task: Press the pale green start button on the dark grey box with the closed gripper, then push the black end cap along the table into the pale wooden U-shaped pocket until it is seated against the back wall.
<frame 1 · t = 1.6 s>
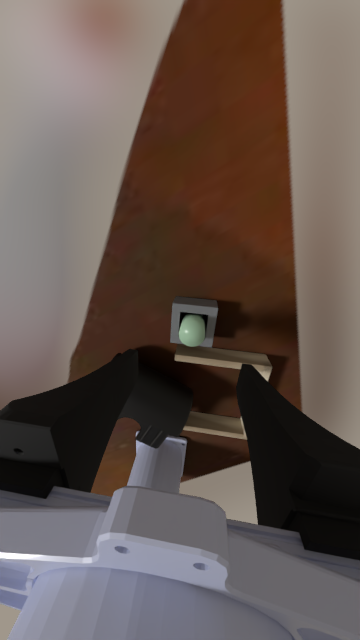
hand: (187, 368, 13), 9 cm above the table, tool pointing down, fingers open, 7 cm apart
button housing: (194, 317, 21), on the table
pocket: (201, 384, 25), on the table
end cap: (150, 376, 26), on the table
start button: (192, 327, 19), point 3 cm above the table, slide at 0.0 cm
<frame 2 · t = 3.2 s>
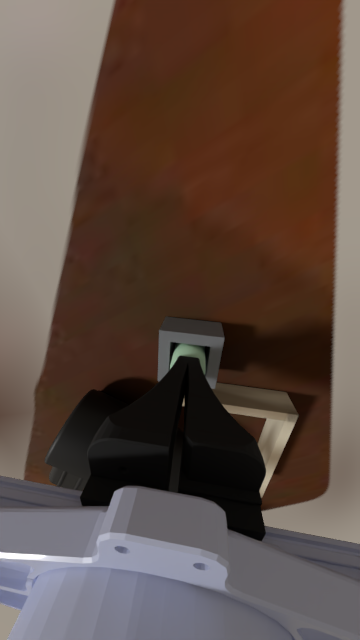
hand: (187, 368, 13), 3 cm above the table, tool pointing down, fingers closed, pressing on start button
button housing: (190, 343, 16), on the table
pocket: (201, 425, 19), on the table
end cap: (136, 413, 20), on the table
start button: (189, 356, 14), point 2 cm above the table, slide at -1.1 cm, touching gripper
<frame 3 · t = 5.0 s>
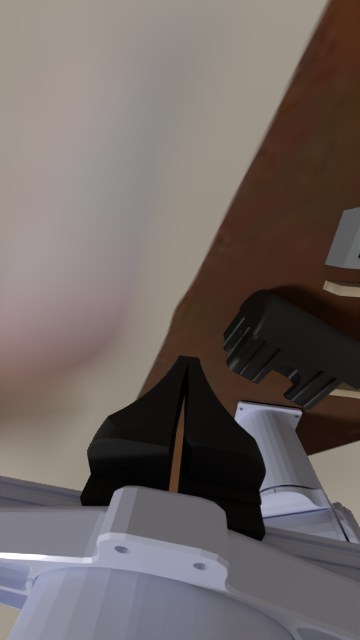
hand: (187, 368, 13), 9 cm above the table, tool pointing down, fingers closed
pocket: (341, 337, 20), on the table
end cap: (273, 329, 21), on the table
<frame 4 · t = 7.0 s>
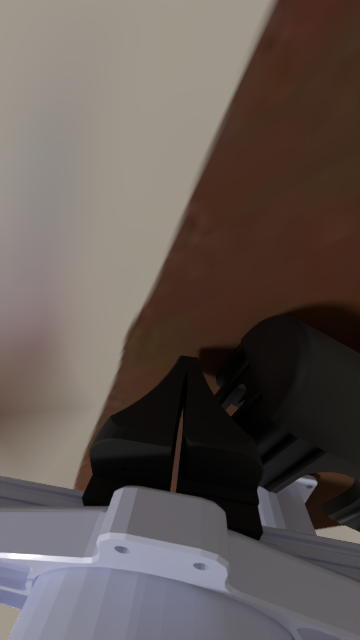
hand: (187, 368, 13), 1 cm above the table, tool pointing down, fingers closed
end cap: (294, 369, 13), on the table, touching gripper
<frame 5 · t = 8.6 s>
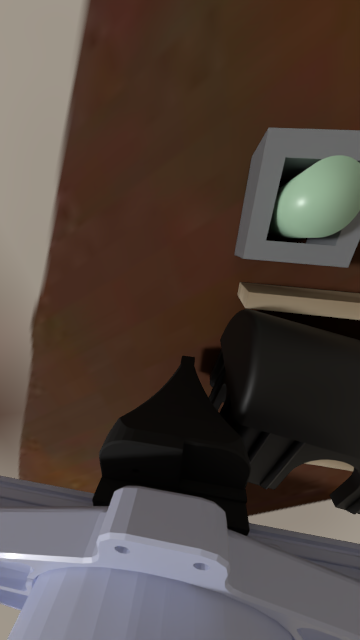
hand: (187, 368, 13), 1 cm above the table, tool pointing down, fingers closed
button housing: (286, 212, 10), on the table
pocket: (275, 369, 13), on the table
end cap: (286, 357, 13), on the table, touching gripper, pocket
start button: (303, 207, 8), point 2 cm above the table, slide at -1.1 cm
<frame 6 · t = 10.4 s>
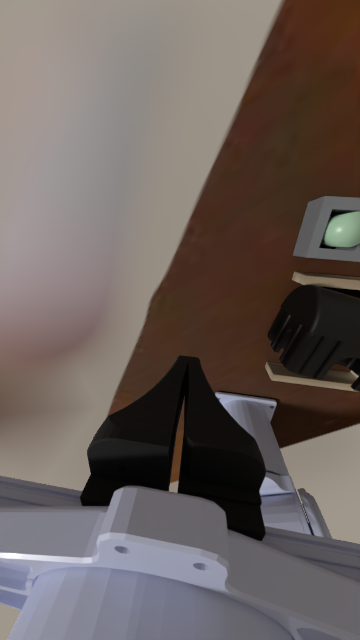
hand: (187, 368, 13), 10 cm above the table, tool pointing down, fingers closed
button housing: (325, 231, 17), on the table
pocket: (311, 328, 21), on the table
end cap: (318, 320, 20), on the table, touching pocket
start button: (338, 230, 15), point 2 cm above the table, slide at -1.1 cm
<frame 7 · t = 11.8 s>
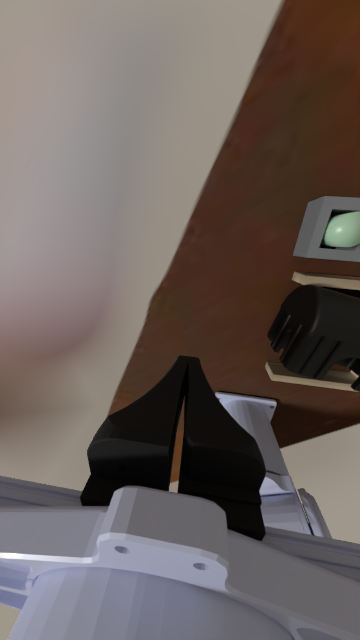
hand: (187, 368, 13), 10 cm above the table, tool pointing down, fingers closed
button housing: (325, 231, 17), on the table
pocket: (311, 328, 21), on the table
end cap: (318, 320, 20), on the table, touching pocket
start button: (338, 230, 15), point 2 cm above the table, slide at -1.1 cm
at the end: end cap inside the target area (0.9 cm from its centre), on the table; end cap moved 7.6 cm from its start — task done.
